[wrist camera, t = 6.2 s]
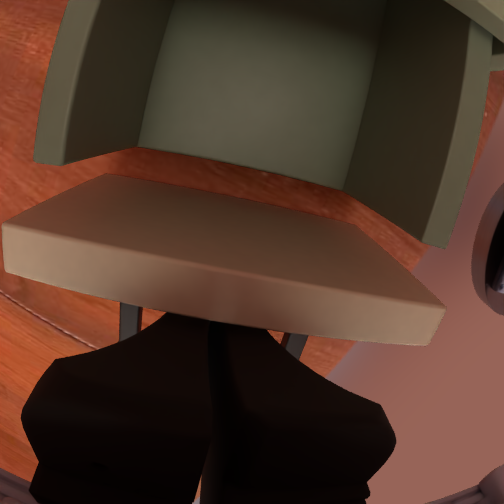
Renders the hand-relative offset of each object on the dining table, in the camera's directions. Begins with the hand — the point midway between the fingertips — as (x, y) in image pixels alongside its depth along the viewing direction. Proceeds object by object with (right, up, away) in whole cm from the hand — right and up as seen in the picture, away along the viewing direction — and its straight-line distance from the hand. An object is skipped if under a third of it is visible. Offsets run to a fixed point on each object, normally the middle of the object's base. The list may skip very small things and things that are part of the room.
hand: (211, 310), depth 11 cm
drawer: (+1, +6, +1) cm, 7 cm away
